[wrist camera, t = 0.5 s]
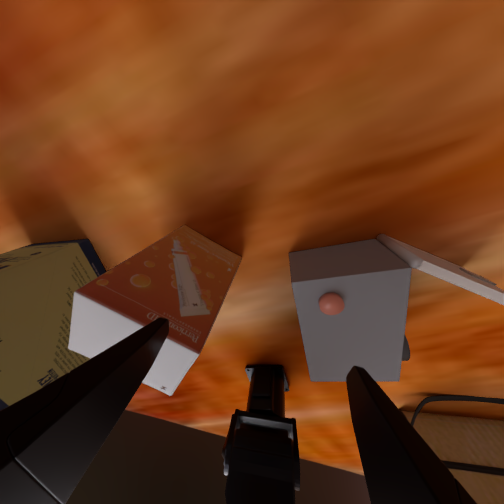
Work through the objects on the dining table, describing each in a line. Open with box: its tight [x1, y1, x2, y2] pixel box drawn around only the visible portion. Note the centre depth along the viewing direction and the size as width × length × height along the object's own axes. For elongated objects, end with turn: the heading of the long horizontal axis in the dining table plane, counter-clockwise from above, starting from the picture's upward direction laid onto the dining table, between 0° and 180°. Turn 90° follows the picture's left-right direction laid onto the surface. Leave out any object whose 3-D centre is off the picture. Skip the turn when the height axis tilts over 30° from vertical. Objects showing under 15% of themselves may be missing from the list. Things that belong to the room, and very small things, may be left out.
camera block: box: [289, 239, 412, 381], centre depth 20 cm, size 14×10×7 cm
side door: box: [377, 234, 504, 305], centre depth 17 cm, size 10×1×6 cm, turn 69°
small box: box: [68, 225, 242, 396], centre depth 17 cm, size 8×6×13 cm
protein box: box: [0, 239, 106, 411], centre depth 22 cm, size 10×16×16 cm
